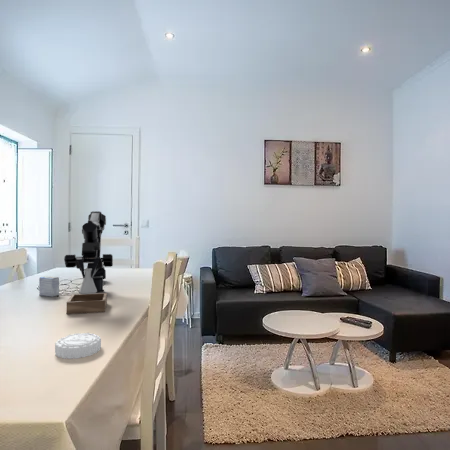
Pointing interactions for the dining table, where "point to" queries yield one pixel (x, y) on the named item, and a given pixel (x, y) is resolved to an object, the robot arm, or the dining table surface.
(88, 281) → the flask
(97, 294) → the walled box
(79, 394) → the dining table surface
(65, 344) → the mooncake
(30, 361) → the dining table surface
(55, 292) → the medicine box
